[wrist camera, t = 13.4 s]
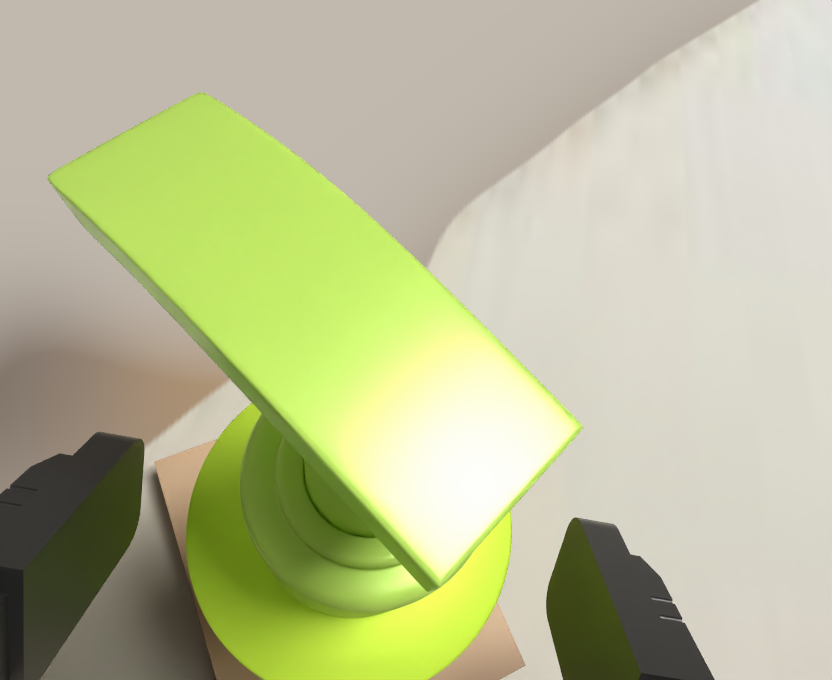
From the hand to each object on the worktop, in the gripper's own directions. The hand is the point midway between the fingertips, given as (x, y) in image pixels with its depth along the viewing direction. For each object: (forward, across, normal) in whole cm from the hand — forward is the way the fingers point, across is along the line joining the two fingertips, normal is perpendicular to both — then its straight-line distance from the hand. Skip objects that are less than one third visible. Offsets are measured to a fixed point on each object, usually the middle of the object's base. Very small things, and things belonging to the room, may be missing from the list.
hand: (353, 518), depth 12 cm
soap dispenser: (+9, 0, +9) cm, 13 cm away
